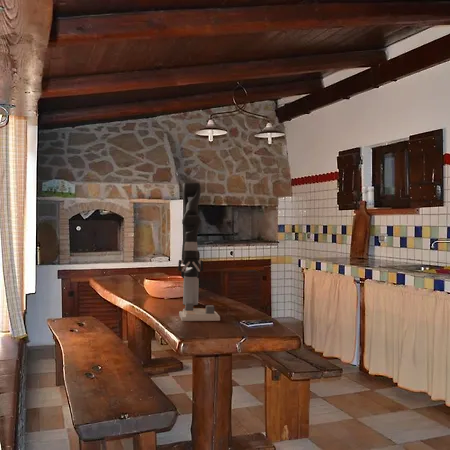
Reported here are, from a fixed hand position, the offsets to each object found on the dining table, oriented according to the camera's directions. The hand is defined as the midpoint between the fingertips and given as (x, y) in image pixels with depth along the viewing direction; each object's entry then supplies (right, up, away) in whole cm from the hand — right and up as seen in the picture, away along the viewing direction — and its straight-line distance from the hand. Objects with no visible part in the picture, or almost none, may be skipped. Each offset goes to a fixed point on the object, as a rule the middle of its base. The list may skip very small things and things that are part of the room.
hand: (190, 278), depth 314 cm
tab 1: (0, -17, -17) cm, 24 cm away
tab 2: (+12, -17, -24) cm, 32 cm away
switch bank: (+6, -19, -21) cm, 29 cm away
